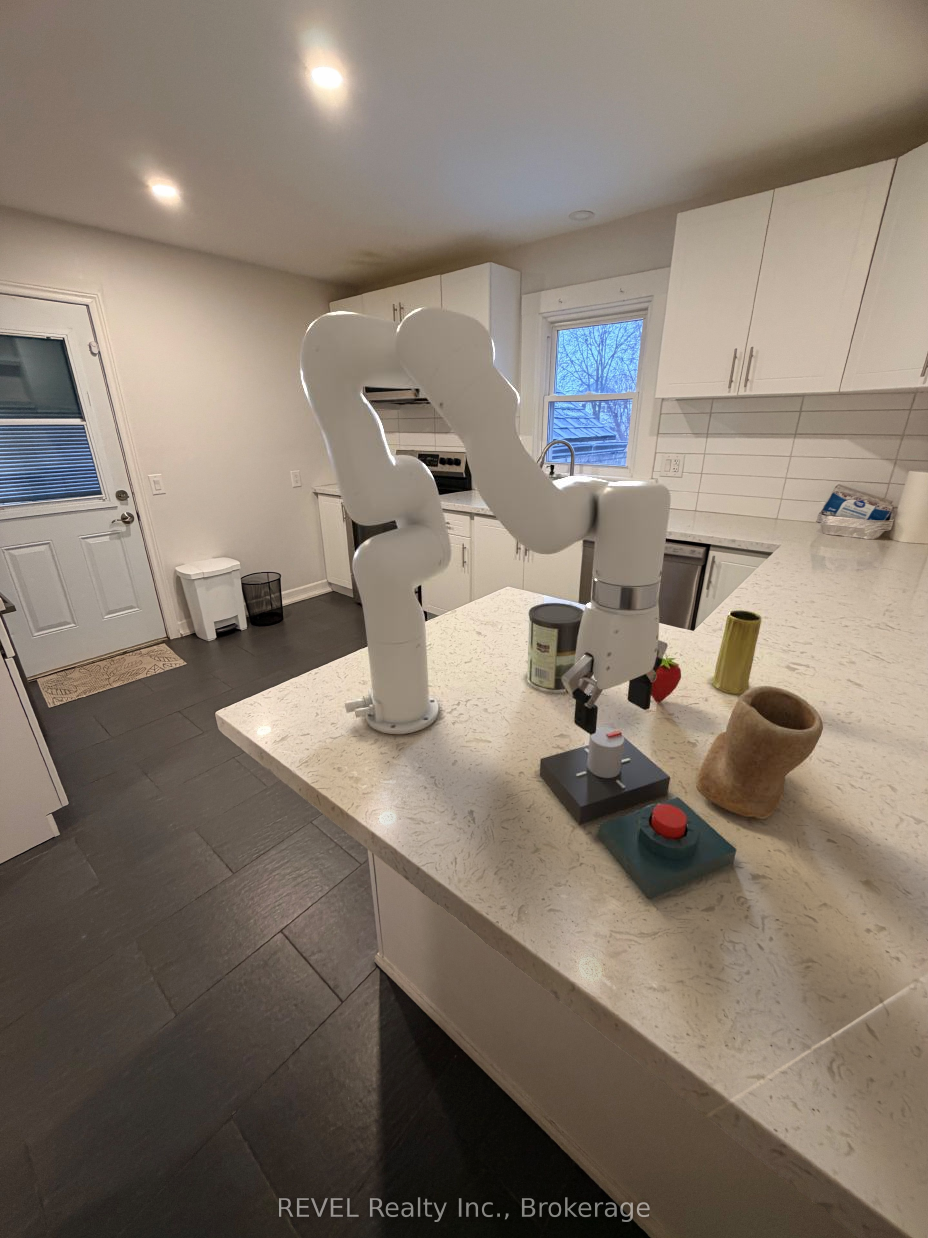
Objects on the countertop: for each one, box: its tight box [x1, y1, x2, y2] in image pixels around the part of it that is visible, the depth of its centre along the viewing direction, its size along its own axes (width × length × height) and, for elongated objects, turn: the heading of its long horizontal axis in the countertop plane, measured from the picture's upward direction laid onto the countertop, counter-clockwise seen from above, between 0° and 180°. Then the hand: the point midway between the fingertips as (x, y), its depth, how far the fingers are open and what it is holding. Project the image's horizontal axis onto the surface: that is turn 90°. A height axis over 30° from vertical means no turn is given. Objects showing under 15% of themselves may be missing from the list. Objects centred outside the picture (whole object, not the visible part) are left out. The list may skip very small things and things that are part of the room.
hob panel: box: [539, 736, 671, 826], centre depth 68 cm, size 14×10×3 cm
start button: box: [651, 804, 687, 839], centre depth 56 cm, size 4×4×2 cm
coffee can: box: [526, 602, 584, 694], centre depth 93 cm, size 10×10×14 cm
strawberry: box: [651, 654, 682, 703], centre depth 86 cm, size 6×8×10 cm
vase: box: [711, 609, 763, 695], centre depth 90 cm, size 6×6×14 cm
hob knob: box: [587, 726, 624, 778], centre depth 66 cm, size 4×4×5 cm
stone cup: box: [695, 685, 824, 820], centre depth 65 cm, size 15×12×15 cm
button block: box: [597, 796, 737, 900], centre depth 57 cm, size 12×9×4 cm
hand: (612, 716), depth 64 cm, fingers open, 9 cm apart
